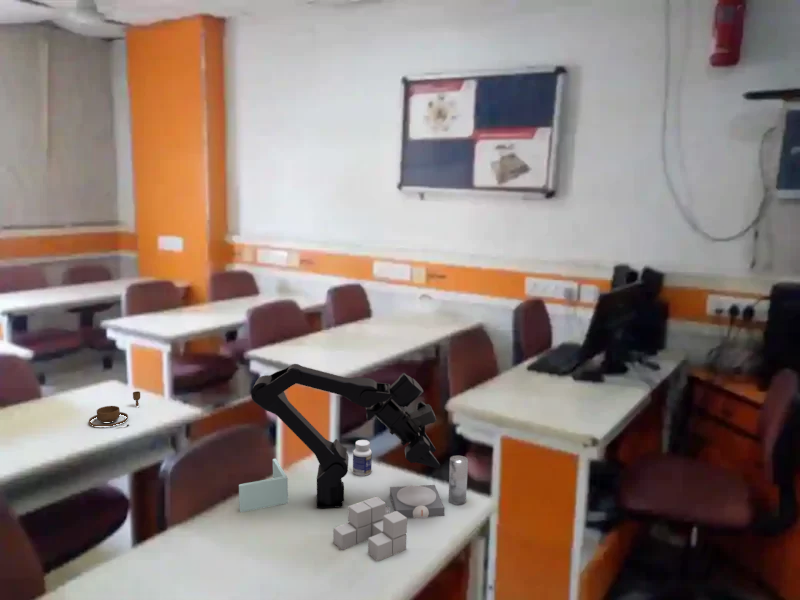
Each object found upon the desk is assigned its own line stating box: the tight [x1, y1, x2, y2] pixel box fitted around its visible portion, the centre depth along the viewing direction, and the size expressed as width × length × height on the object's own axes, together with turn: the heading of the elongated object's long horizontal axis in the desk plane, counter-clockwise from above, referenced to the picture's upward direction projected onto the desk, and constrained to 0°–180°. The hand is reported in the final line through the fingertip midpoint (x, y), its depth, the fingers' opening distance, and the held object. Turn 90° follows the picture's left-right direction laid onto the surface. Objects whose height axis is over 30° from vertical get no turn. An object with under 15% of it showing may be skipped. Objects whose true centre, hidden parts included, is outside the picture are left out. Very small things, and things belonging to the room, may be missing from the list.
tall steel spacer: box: [447, 455, 469, 506], centre depth 167 cm, size 5×5×12 cm
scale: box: [389, 484, 446, 519], centre depth 165 cm, size 12×12×4 cm
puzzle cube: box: [332, 496, 408, 562], centre depth 146 cm, size 12×12×8 cm
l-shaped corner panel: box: [238, 458, 289, 513], centre depth 167 cm, size 12×12×8 cm
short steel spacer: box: [385, 504, 390, 515], centre depth 158 cm, size 4×4×3 cm
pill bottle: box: [352, 439, 373, 477], centre depth 182 cm, size 5×5×9 cm
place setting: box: [88, 390, 141, 426], centre depth 218 cm, size 18×20×6 cm
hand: (436, 458), depth 166 cm, fingers open, 9 cm apart
